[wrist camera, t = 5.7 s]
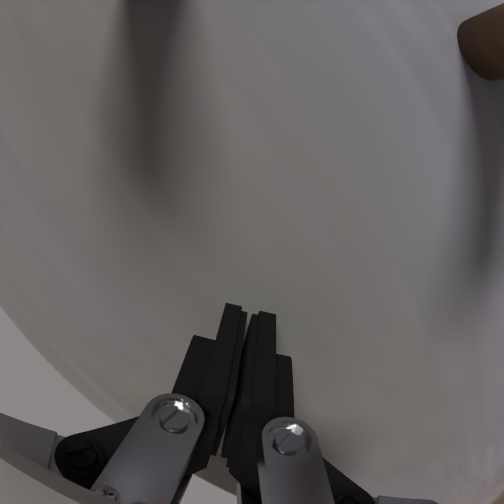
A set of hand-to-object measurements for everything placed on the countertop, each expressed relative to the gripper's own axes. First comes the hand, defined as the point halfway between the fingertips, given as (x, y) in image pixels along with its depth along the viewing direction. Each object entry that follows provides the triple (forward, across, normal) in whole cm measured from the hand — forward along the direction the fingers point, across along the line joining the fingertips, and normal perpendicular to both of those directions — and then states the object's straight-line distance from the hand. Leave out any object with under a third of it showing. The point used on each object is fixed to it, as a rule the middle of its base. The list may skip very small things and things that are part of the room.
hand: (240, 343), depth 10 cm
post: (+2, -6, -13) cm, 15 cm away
